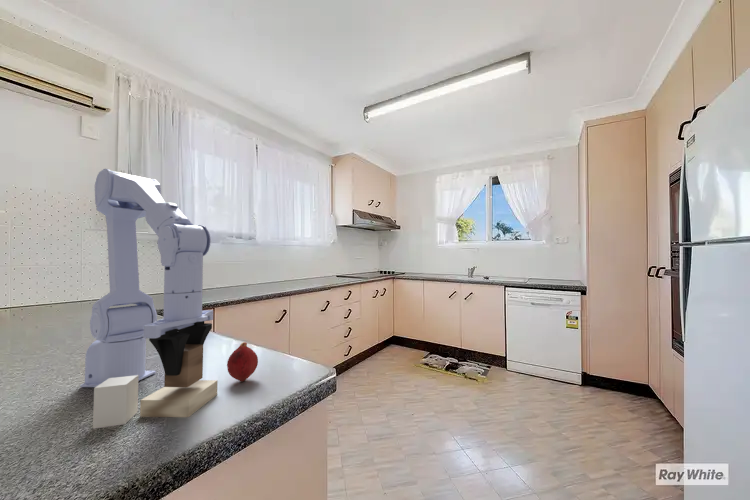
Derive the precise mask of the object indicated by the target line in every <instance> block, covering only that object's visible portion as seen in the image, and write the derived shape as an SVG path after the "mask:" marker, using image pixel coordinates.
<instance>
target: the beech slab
mask: <svg viewBox="0 0 750 500" xmlns="http://www.w3.org/2000/svg"><path fill="white" fill-rule="evenodd" d="M218 383H219V381H218V380H213V379H211V380H210V379H207V380H206V379H205V380H204V379H200V380H198V381H197V382H195V383H194V384H192V385H190V386H189V387H164V386H163V387H161V388H159V389H157V390H155V391H154V392H152V393H150V394H149V395H147V396H145V397H144V398H142V399H140V405H139V406H140V409H139V410H140V411H139V412H140V414H139V416H140V418H145V417H147V418H190V417H191V416H192V415H193V414H194V413H196V412H197V411H198V410H200V409H201V408H202V407H203V406H205V405H206V404H208V403H209V402H210V401H211V400H212V399H214V398H215V397H216V396H217V395H218Z"/></svg>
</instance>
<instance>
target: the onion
mask: <svg viewBox="0 0 750 500" xmlns="http://www.w3.org/2000/svg"><path fill="white" fill-rule="evenodd" d="M226 363H227V365H226V366H227V373H228V374H229V375H230V376H231V378H233V379H235V380H237V381H239V382H242V383H243V382H245V381H246V380H248V379H249V377H250V376H252V375H253V374H254V372H255V371H256V369H257V368H258V365H259V364H258V363H259V357H258V355H257V353H256V352H255V350H253V349H252V348H251V347H249V346H248V343H247V341H243V342H241V344H239V346H238V347H237V348H236V349H235V350H234V351H233V352H232V353H231V354H230V355H229V356H228V359H227V362H226Z"/></svg>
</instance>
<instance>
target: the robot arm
mask: <svg viewBox="0 0 750 500" xmlns="http://www.w3.org/2000/svg"><path fill="white" fill-rule="evenodd" d="M161 186H162V185H161V184H160V182H159V181H158V180H157V179H155V178H148V177H143V176H138V175H134V174H129V173H124V172H120V171H115V170H111V169H109V168H103V169H101V170H100V171H99V172H98V173H97V175H96V178H95V182H94V204H95V207H96V211H97V212H99V213H101V214H102V215H104V216H105V221H106V233H107V234H106V236H107V257H108V258H107V259H108V277H109V278H108V279H109V280H108V281H109V292H108V293H107V294H105V295H104V296H102V297H101V298H99V299H98V300H96V302H94V303H93V305H92V308H91V316H90V320H89V321H90V322H89V329H90V333H91V336H92V338H93V339H95V340H94V341H93V342H92V343H91V344H90V345H89V346H88V348H87V349H86V353H85V357H84V358H85V359H84V360H85V361H84V362H85V363H84V365H85V366H84V383H81V384H80V385H79V387H80V388H95V387H97V386H98V385H100V384H101V383H103V382H104V381H106V380H107V379H109V378H115V377H125V376H134V375H139V376H138V382H139V381H141V380H143V379H146V378H148V377H150V376H152V375H154V374H156V373H157V371H156V370H146V359H147V358H146V355H147V353H146V351H147V339H148V340H149V342H150V343H151V344H152V346H153V347H154V348H155V350H156V352H157V353H158V357H159V358H160V360H161V363H162V367H163V371H164V376H165V375H166V376H177V375H179V374H180V372H181V368H182V359H183V352H184V348H185V345H186V344H201V345H203V346H204V344H205V341H206V339H207V338H208V335H209V333H210V332H211V330H212V328H213V324H212V323H210V321H213V320H214V310H213V309H211V310H210V309H205V310H203V286H204V284H203V282H204V281H203V280H204V276H203V275H204V270H203V269H204V256H206V255H207V254H208V252H209V250H210V247H211V244H212V243H211V242H212V241H211V234H210V232H209V229H207V227H206V226H205V225H203V224H202V225H200V224H199V225H197V224H193V223H192V222H191V220H190V219H189V218H188V217H187V216H186V215H185V214H184V213H183V212H182V210H181V209H180V208H179V206H178V205H177V203H175V202H170V201H169V202H168V201H167V202H166V201H165V200H164V198H163V196H162V195H161V194H162V188H161ZM141 218H145V221H146V223H147V224H148V225H149V226H150V228H151V229H152V230H153V232H154V233H155V235H157V238H158V239H157V248H158V252H159V255H160V263H161V266H162V267H164V279H163V285H164V286H163V318H160V319H158V313H157V309H156V307H155V304H154V298H153V297H152V296H151V295H149V294H147V293H146V292H143V291H142V290H140V279H139V278H140V277H139V257H138V242H137V241H138V239H137V220H138V219H141ZM127 305H129V306H127ZM115 306H116V307H115ZM117 306H119V307H117ZM110 307H111V308H110ZM206 321H207V322H206ZM208 321H209V323H208ZM205 322H206V323H205Z"/></svg>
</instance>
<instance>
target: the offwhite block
mask: <svg viewBox="0 0 750 500" xmlns="http://www.w3.org/2000/svg"><path fill="white" fill-rule="evenodd" d="M138 376H139V375H134V376H125V377H115V378H109V379H107V380H106V381H104V382H103V383H101V384H100V385H98V386H97V387H93V414H92V416H93V417H92V419H93V420H92V429H99V428H109V427H113V426H122V425H126V424H127V423H128V422H129V421H130V420H131V419H132V418H133V417H134V416H135V415H136V414H137V413H138V411H139V409H138V407H139V405H138V403H139V381H138Z"/></svg>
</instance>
